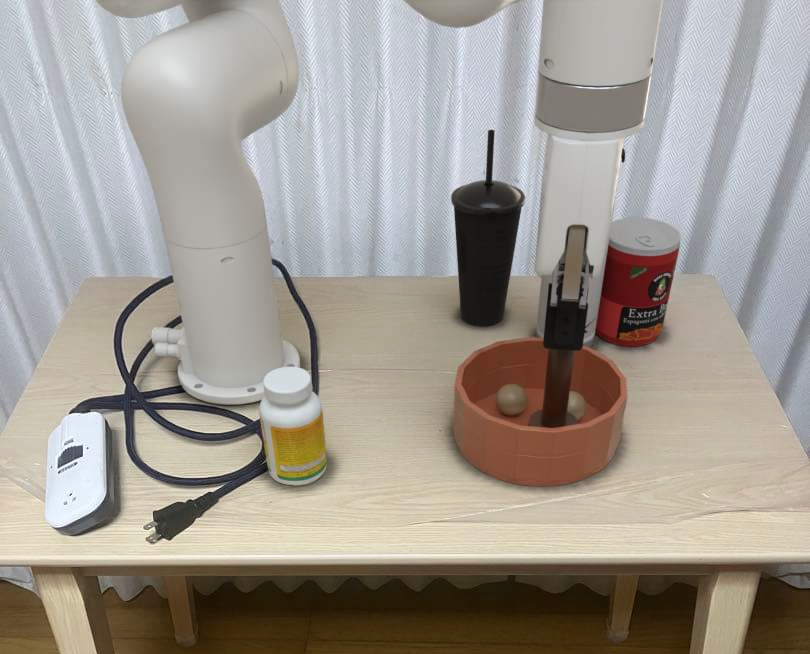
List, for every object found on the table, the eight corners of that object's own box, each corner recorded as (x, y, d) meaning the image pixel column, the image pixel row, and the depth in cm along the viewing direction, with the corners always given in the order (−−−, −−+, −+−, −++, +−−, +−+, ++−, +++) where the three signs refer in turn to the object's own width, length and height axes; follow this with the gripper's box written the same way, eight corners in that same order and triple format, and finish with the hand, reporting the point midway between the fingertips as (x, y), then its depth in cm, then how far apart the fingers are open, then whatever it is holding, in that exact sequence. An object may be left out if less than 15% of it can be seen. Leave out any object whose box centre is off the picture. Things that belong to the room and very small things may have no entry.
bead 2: (551, 428, 81) (555, 401, 79) (552, 409, 83) (556, 383, 81) (584, 430, 81) (588, 403, 79) (584, 412, 83) (588, 385, 81)
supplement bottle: (256, 469, 78) (241, 379, 72) (302, 443, 81) (291, 354, 75) (294, 496, 76) (281, 404, 69) (340, 468, 78) (332, 378, 72)
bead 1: (493, 420, 82) (495, 394, 80) (496, 402, 84) (498, 376, 82) (525, 423, 82) (528, 396, 80) (527, 405, 84) (529, 378, 82)
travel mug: (595, 358, 91) (625, 163, 77) (533, 352, 92) (551, 159, 78) (597, 328, 96) (626, 139, 82) (538, 323, 97) (556, 136, 83)
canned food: (621, 355, 91) (639, 256, 84) (575, 322, 97) (588, 226, 89) (677, 336, 94) (698, 238, 87) (629, 305, 99) (645, 210, 92)
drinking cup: (508, 336, 95) (522, 147, 81) (441, 328, 96) (443, 140, 83) (521, 304, 100) (536, 121, 86) (457, 296, 102) (462, 115, 88)
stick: (526, 443, 77) (541, 286, 67) (529, 415, 80) (543, 261, 70) (576, 447, 76) (598, 290, 66) (577, 418, 79) (598, 264, 69)
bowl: (445, 478, 77) (446, 423, 73) (463, 385, 88) (465, 332, 84) (618, 493, 75) (629, 437, 71) (615, 396, 86) (624, 342, 82)
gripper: (541, 66, 65) (523, 291, 78) (529, 138, 54) (510, 388, 67) (642, 68, 64) (608, 296, 77) (651, 142, 53) (609, 395, 66)
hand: (563, 337), depth 72 cm, fingers closed on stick, 2 cm apart
